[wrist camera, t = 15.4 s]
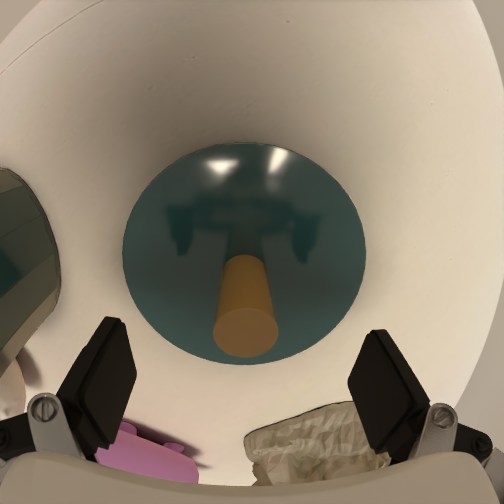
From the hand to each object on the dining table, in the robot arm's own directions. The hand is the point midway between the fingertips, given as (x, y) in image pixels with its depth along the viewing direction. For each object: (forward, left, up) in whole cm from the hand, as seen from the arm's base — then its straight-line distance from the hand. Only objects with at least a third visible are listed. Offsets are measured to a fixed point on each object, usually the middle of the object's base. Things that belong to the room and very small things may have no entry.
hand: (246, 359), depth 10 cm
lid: (0, 0, -7) cm, 7 cm away
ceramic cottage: (+20, -14, -7) cm, 25 cm away
